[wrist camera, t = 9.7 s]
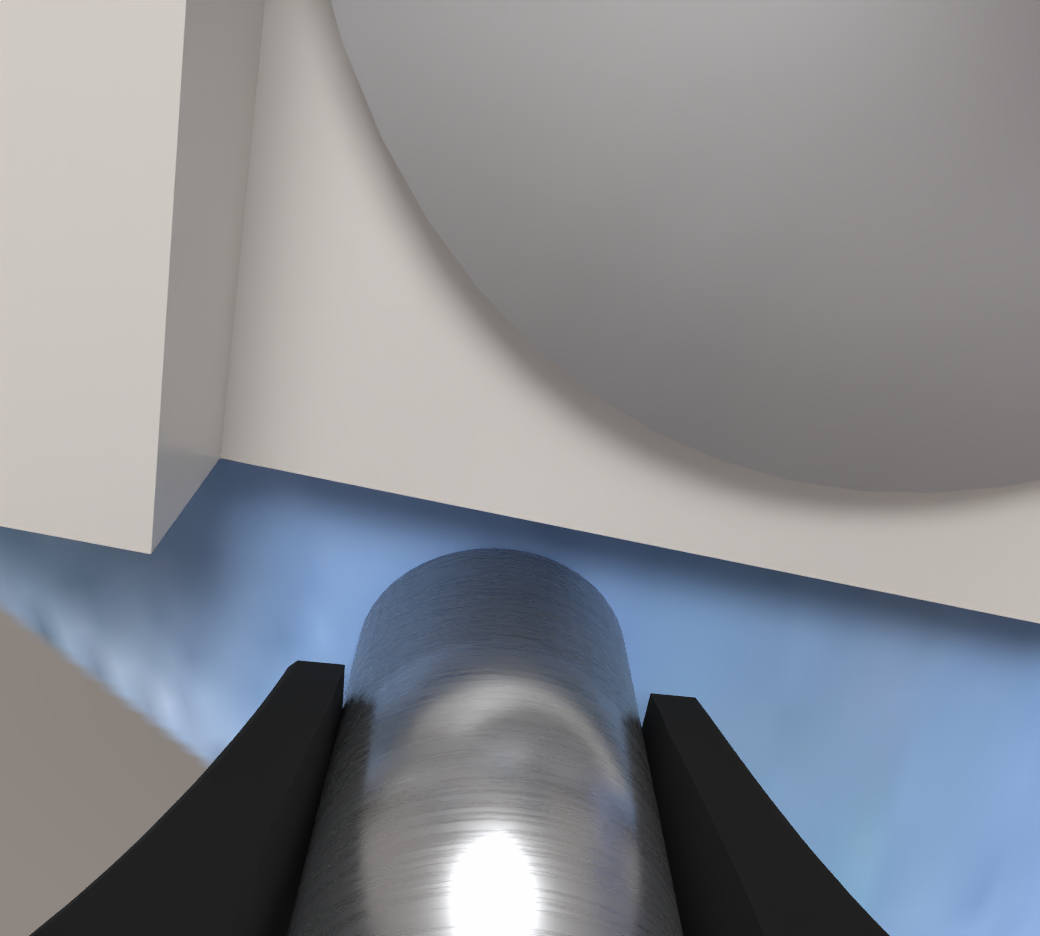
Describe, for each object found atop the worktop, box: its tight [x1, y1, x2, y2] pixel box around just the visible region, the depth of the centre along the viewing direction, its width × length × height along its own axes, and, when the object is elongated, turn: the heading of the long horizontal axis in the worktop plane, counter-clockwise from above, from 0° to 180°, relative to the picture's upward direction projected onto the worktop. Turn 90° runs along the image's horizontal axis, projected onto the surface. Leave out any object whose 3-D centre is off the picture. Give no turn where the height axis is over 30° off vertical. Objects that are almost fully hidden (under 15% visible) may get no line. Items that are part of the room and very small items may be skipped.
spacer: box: [287, 549, 683, 936], centre depth 10 cm, size 4×4×6 cm
